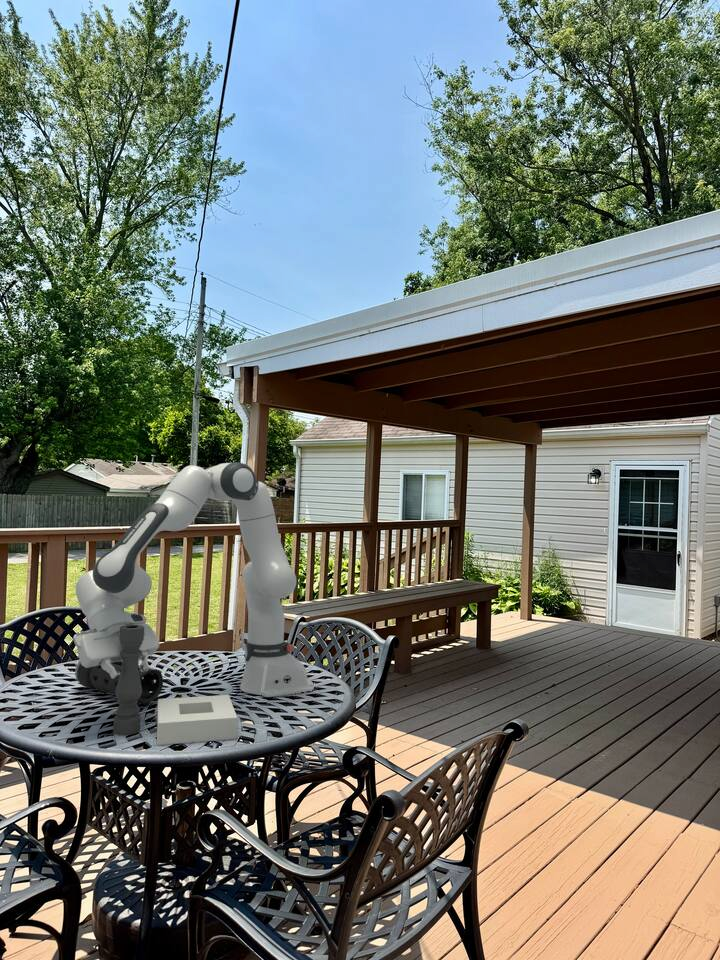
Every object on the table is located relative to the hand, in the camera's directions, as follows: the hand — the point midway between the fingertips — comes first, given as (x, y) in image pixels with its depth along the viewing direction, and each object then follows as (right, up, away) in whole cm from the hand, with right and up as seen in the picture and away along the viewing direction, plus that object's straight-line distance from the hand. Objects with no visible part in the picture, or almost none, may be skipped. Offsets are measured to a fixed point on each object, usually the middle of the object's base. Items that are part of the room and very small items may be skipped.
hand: (131, 673), depth 149 cm
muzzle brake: (-14, -15, +25) cm, 32 cm away
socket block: (+15, -15, +3) cm, 21 cm away
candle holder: (-1, -14, 0) cm, 14 cm away
